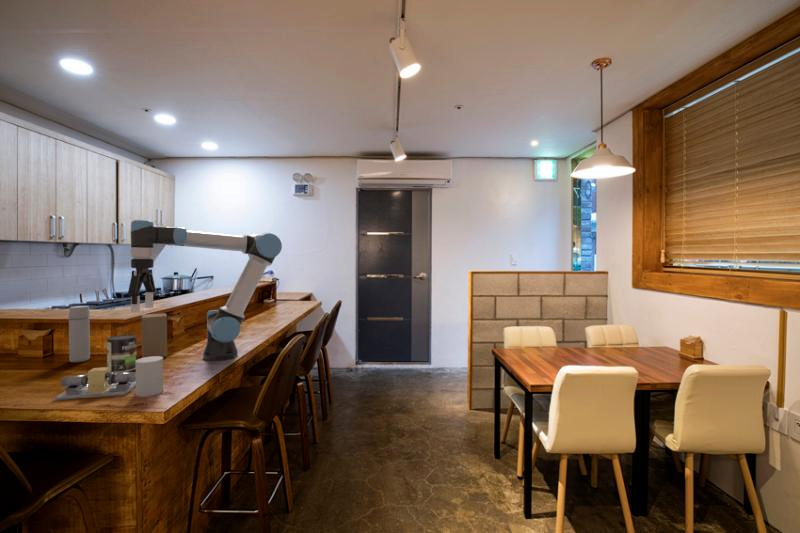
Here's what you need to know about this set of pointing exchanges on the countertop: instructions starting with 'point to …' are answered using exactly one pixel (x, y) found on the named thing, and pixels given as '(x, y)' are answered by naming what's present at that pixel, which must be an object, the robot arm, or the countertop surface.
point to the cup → (149, 376)
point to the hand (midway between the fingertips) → (142, 310)
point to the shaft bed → (79, 389)
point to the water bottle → (79, 334)
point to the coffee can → (122, 353)
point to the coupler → (98, 379)
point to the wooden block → (154, 335)
